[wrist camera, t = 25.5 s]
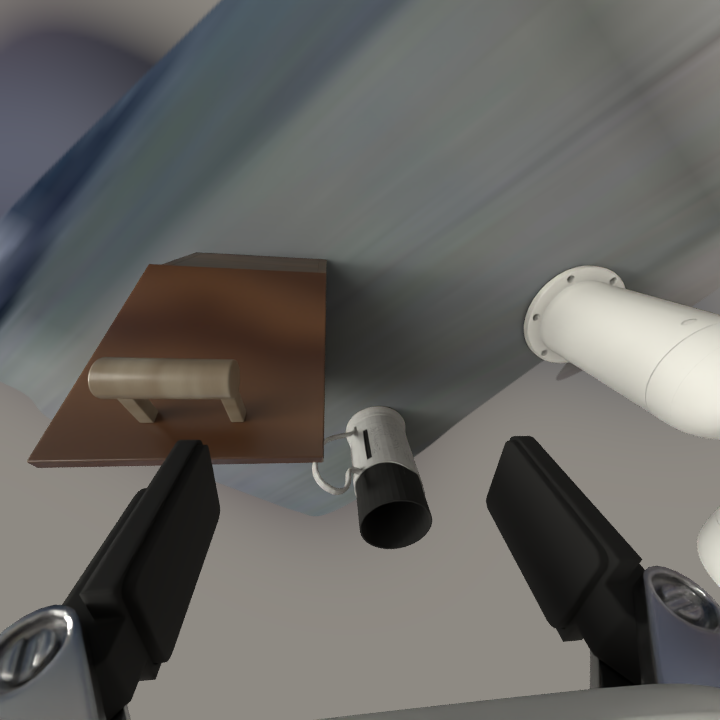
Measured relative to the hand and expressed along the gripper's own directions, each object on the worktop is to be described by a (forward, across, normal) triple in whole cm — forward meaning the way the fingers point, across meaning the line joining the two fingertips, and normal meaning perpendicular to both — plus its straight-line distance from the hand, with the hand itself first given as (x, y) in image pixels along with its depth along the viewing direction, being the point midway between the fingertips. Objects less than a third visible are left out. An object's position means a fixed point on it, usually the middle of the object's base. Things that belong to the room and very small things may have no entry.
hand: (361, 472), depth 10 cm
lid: (+12, +8, +1) cm, 15 cm away
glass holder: (+28, -4, +20) cm, 35 cm away
